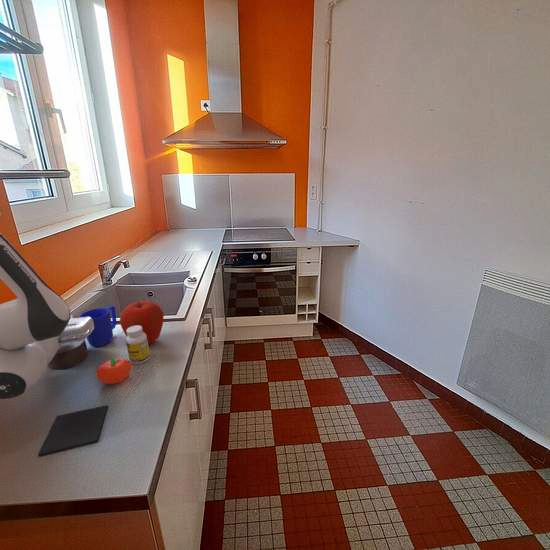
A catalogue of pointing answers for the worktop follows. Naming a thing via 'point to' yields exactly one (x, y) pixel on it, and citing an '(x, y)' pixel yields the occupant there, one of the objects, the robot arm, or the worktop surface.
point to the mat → (74, 430)
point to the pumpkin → (114, 371)
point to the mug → (101, 325)
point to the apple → (143, 318)
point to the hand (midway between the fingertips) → (58, 319)
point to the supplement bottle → (137, 345)
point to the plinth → (69, 355)
